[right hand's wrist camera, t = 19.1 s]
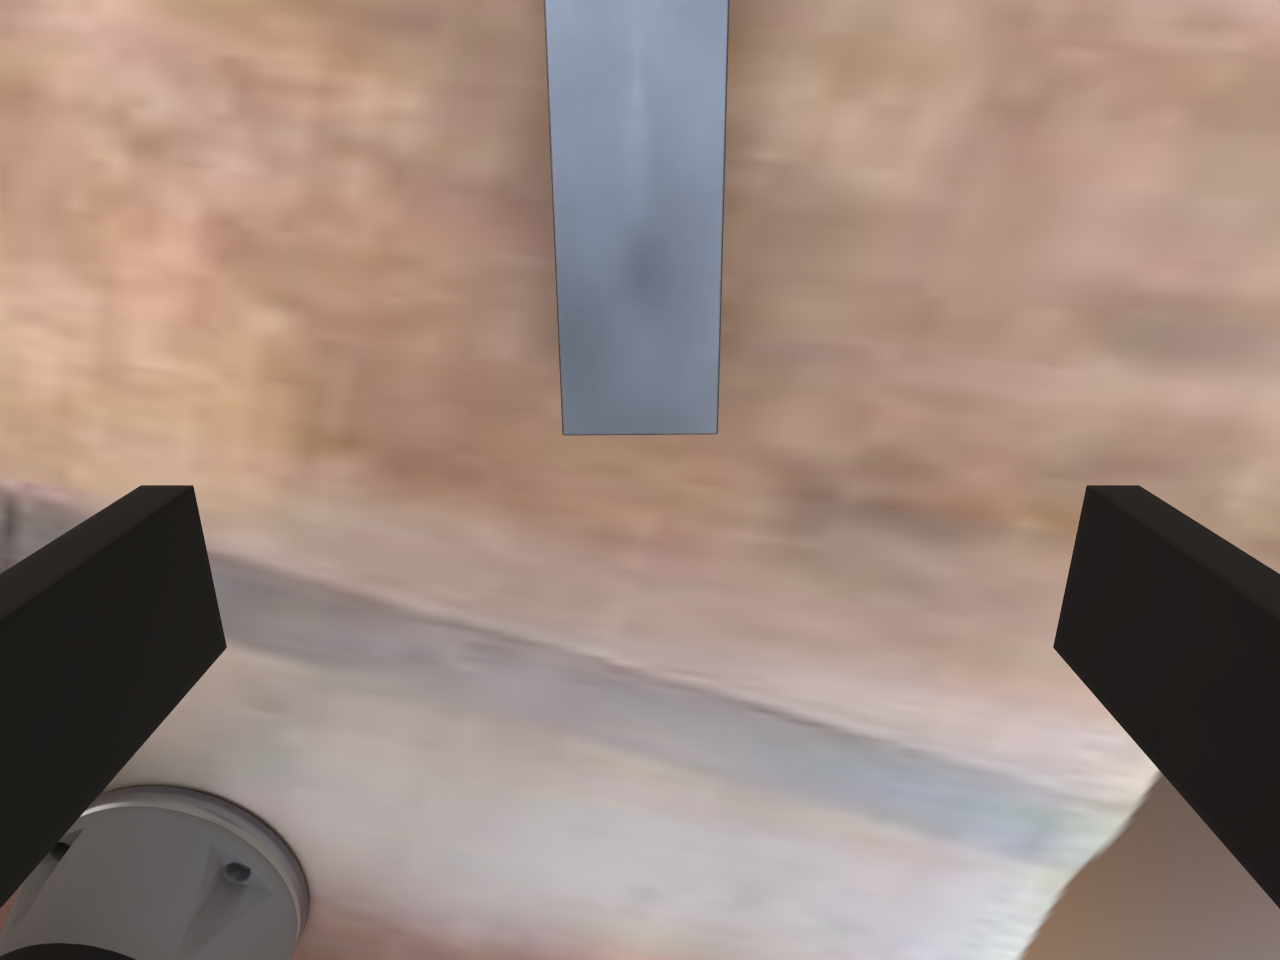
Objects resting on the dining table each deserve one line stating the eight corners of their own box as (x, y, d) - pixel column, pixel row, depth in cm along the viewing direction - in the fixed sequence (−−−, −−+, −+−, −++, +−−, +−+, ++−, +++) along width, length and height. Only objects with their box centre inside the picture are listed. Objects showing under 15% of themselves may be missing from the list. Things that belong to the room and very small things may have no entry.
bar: (701, 378, 38) (717, 434, 30) (579, 379, 38) (562, 435, 30) (713, -281, 29) (741, -453, 21) (556, -279, 29) (524, -450, 21)
